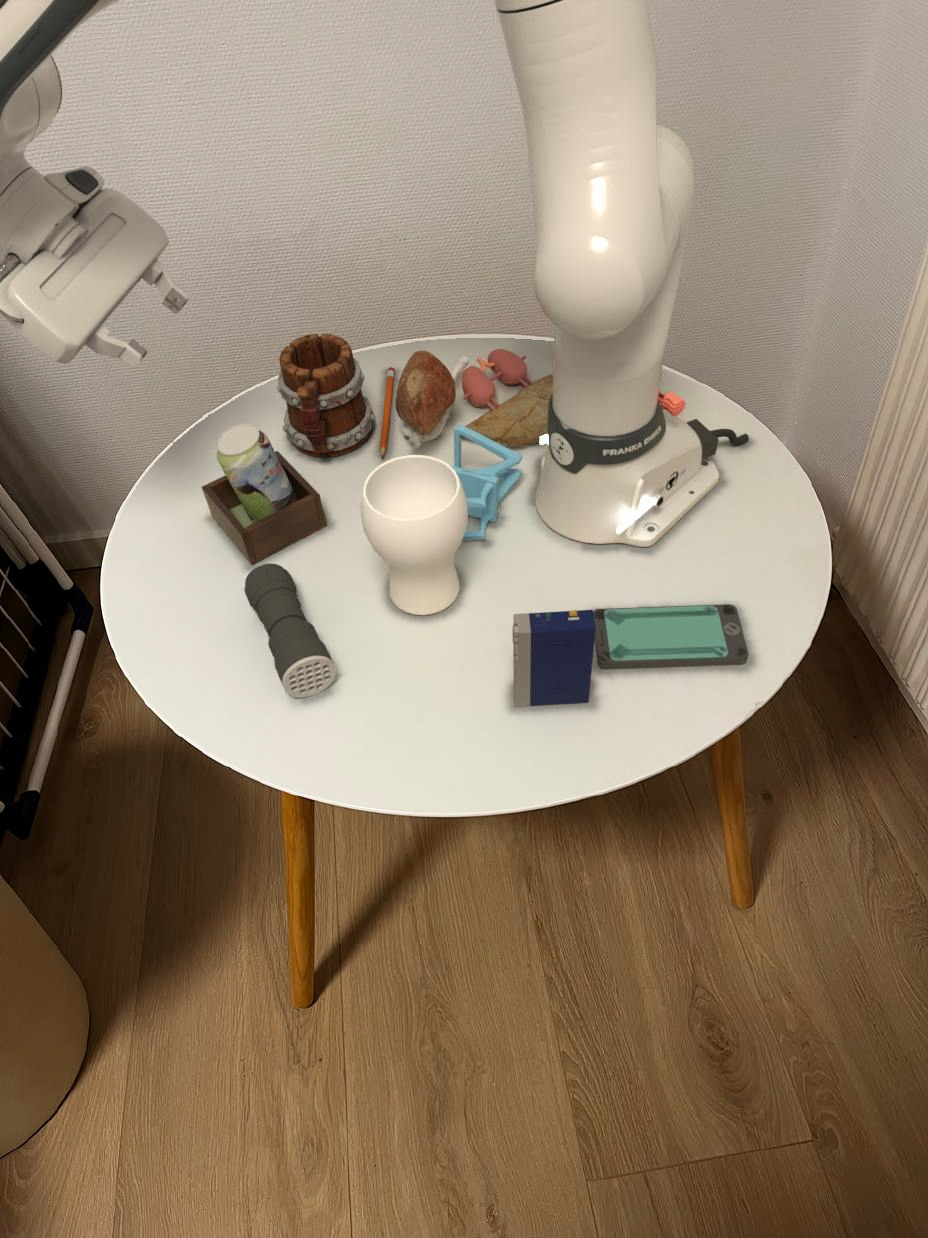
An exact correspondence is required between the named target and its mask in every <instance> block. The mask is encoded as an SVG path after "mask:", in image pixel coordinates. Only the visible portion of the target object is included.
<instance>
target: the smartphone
mask: <svg viewBox="0 0 928 1238" xmlns="http://www.w3.org/2000/svg"><path fill="white" fill-rule="evenodd" d="M593 614H594V621H595V627H596V631H595V641H594V647H595V652H596V661H597V666H598V667H599V668H601V669H602V670H617V669H618V670H619V669H621V670H622V669H647V668H649V669H652V668H679V667H683V668H684V667H708V666H710V667H713V666H737V665H738V666H740V665H741V666H742V665H744V664H746V663H747V661H748V658H749V655H750V654H749V650H748V646H747V643H746V638H745V634H744V631H743V627H742V624H741V621H740V620H741V619H740V616H739V612H738V608H737V607H736V605H734V604H732V603H731V604H730V603H729V604H727V603H726V604H724V603H723V604H700V605H698V604H697V605H671V606H642V607H641V606H640V607H614V608H613V607H612V608H611V607H610V608H609V607H607V608H596V609H594V610H593Z"/></svg>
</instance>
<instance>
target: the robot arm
mask: <svg viewBox="0 0 928 1238" xmlns="http://www.w3.org/2000/svg"><path fill="white" fill-rule="evenodd" d="M120 1H122V0H0V316H2V318H4V319H6V321H7V322H8V323H9V324H10V325H11V326H12V327H13V328H14V329H15V330H16V331H17V332H18V333H19V334H20V335H21V336H22V337H23V338H24V339H25V340H26V341H28V342H29V343H30V344H31V345H32V346H33V347H34V348H35V349H36V350H38V351H40V352H41V353H42V354H43V355H44V356H46V357H47V359H50V361H53V362H55V363H60V364H69V363H71V362H72V361H73V359H75V358H76V357H77V355H78V353H79V352H80V351H81V350H82V349H83V348H84V347H85V346H86V347H88V348H89V350H92V351H93V352H94V353H95V354H99V355H103V356H106V357H111V358H115V359H119V360H121V361H122V362H124V363H125V364H126V365H127V366H129V367H130V368H132V369H136V368H137V367H138V366H139V365H140V364H141V362H142V361H143V359H144V358H145V357H146V355H147V354H148V351H147V349H146V347H144V346H143V345H140V343H139V342H138V341H136V339H133V338H131V340H130V341H129V342H126V341H124V340H121V339H118V338H116V337H113V336H111V335H110V334H111V333H112V332H111V331H110V330H109V329H108V328H107V327H106V326H104V325H103V324H104V323H105V322H106V321H107V320H108V318H109V317H110V316H111V315H112V314H113V313H114V312H115V310H116V309H117V308H118V307H119V306H120V304H121V303H122V302H123V301H124V300H125V299H126V298H127V296H128V295H129V294H130V292H132V290H133V289H134V288H135V287H136V286H137V284H139V282H140V281H141V280H143V281H145V282H146V284H148V285H149V286H154V285H155V287H156V288H157V290H158V291H159V293H160V294H161V296H162V297H163V299H164V300H163V301H162V303H161V304H162V305H163V306H164V307H165V308H167V309H169V310H170V311H171V312H172V313H173V314H176V315H177V314H179V313H180V312H181V311H182V310H183V308H184V307H185V305H186V304H187V303H188V301H189V299H190V298H189V296H188V295H187V293H186V292H184V291H183V290H181V288H179V287H178V286H177V285H176V281H174V279H173V276H172V275H171V273H170V271H169V269H168V267H167V266H166V265H165V264H163V263H162V262H161V261H160V260H159V259H160V257H161V256H162V254H163V253H164V251H165V250H166V249H167V247H168V245H169V243H170V240H169V237H168V235H167V232H166V231H165V228H163V226H162V225H161V224H160V223H159V222H158V221H157V220H156V219H155V218H153V217H152V216H151V215H150V214H148V212H146V211H145V210H144V209H143V208H142V207H140V206H139V205H138V204H137V203H135V202H134V201H132V200H131V199H130V198H129V197H127V196H126V195H125V194H123V193H122V192H120V191H119V190H116V189H113V188H103V187H104V186H105V178H104V177H103V176H102V175H101V174H100V172H98V171H97V170H96V169H95V168H93V167H91V166H81V167H77V168H74V169H70V170H65V171H61V172H55V173H53V172H52V173H48V174H45V175H43V174H42V173H41V172H39V171H38V170H37V169H36V168H34V167H33V165H31V164H30V163H29V162H28V161H27V159H26V158H25V151H26V150H27V147H28V146H29V144H30V143H32V142H33V141H34V140H35V139H36V138H37V137H39V136H40V135H42V134H43V133H44V132H45V131H46V130H47V129H48V128H49V127H50V126H51V125H52V123H53V122H54V120H55V118H56V115H57V114H58V112H59V111H60V108H61V106H62V100H63V85H62V80H61V79H62V78H61V74H60V72H59V71H60V70H59V69H58V67H57V66H58V65H57V63H56V61H55V59H54V57H53V56H52V55H53V54H54V53H55V52H56V51H57V50H58V48H60V47H61V45H63V43H64V42H65V41H66V40H67V39H68V38H69V37H70V36H71V35H72V34H73V32H75V31H76V30H77V29H78V28H79V27H81V26H82V25H83V24H84V23H85V22H87V21H88V20H89V19H92V17H94V16H96V15H97V14H99V13H100V12H102V11H103V10H104V11H105V9H107V8H109V7H111V6H113V5H114V4H116V3H118V2H120ZM494 5H495V8H496V12H497V16H498V20H499V23H500V28H501V31H502V36H503V38H504V43H505V47H506V51H507V54H508V58H509V62H510V66H511V70H512V74H513V78H514V83H515V86H516V89H517V93H518V98H519V102H520V106H521V112H522V116H523V122H524V128H525V138H526V146H527V156H528V168H529V179H530V181H529V182H530V190H531V191H530V192H531V201H532V202H531V203H532V210H533V218H534V219H533V220H534V230H535V260H534V261H535V263H534V272H533V273H534V276H533V289H534V294H535V298H536V301H537V303H538V305H539V307H540V309H541V310H542V312H543V314H544V315H545V316H546V317H547V319H548V320H549V321H550V322H552V324H554V326H556V327H555V333H554V337H553V338H554V340H553V367H552V375H553V393H552V394H551V397H550V399H549V405H548V421H547V432H548V434H546V435H543V436H541V437H540V441H539V445H541V446H542V445H544V444H546V448H545V454H544V455H543V456H542V458H541V462H540V473H541V476H540V480H539V483H538V486H537V489H536V493H535V508H536V512H537V513H538V515H539V517H540V519H541V520H542V521H543V523H544V524H546V525H547V526H548V527H549V528H550V529H551V530H552V531H554V532H556V533H557V534H559V535H561V536H563V537H565V538H567V539H570V540H573V541H576V542H580V543H585V544H586V543H587V544H594V545H605V544H625V545H629V546H634V547H638V548H649V547H652V546H654V545H655V544H656V543H657V542H658V541H659V540H660V539H662V537H663V536H664V535H665V534H667V532H669V530H671V529H672V528H673V527H674V525H676V524H677V523H678V522H679V521H680V520H681V519H682V518H683V517H685V515H686V514H687V513H688V512H689V511H691V510H692V509H693V508H694V507H695V506H696V505H697V504H698V503H699V502H700V501H701V500H702V499H703V498H704V497H705V496H706V495H708V493H710V491H711V490H713V489H714V487H715V486H717V485H718V484H719V481H720V473H719V470H718V468H717V466H716V464H715V462H714V461H713V460H712V459H711V458H712V457H713V456H716V455H717V449H718V444H719V438H728V441H729V442H730V444H731V445H733V446H741V445H743V444H745V443H747V442H749V440H750V436H749V435H748V434H747V433H743V434H741V435H739V436H737V433H736V432H735V431H734V430H733V429H729V428H718V429H712V430H710V429H708V427H706V426H705V425H704V424H703V422H701V421H700V420H698V419H697V418H694V419H692V420H689V421H685V420H684V419H682V418H681V417H679V415H680V414H681V413H683V411H684V409H685V408H686V407H685V406H686V404H687V403H686V402H687V401H686V400H685V399H684V398H682V397H680V396H678V395H676V393H675V392H671V391H670V392H667V393H664V392H663V391H661V390H660V386H661V380H662V372H663V366H664V358H665V352H666V346H667V340H668V334H669V330H670V325H671V320H672V316H673V311H674V306H675V301H676V297H677V292H678V288H679V287H678V286H679V281H680V277H681V271H682V266H683V262H684V256H685V250H686V246H687V240H688V235H689V230H690V224H691V219H692V212H693V208H694V200H695V190H696V189H695V187H696V186H695V185H696V177H695V176H696V175H695V164H694V160H693V157H692V154H691V152H690V149H689V148H688V146H687V144H686V143H685V142H684V140H683V139H682V138H681V137H680V136H679V135H678V134H677V133H675V131H673V130H671V129H669V128H668V127H666V126H664V125H661V124H657V87H658V62H657V56H656V49H655V44H654V38H653V32H652V25H651V20H650V15H649V14H650V13H649V9H648V2H647V0H494Z"/></svg>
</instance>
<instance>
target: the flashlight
mask: <svg viewBox="0 0 928 1238" xmlns="http://www.w3.org/2000/svg"><path fill="white" fill-rule="evenodd" d="M244 582H245V583H244V585H245V586H244V593H245V596H246V599H247V601H248V603H249V606H250V607H251V608H252V610H254V611H255V613H256V614H257V616H258V618H259V621H260V623H262V625H263V626H264V629H265V631H266V634H267V635H268V641H267V642H268V648H269V650H270V652H271V655H272V657H273V660H274V668H275V671H276V673H277V676H278V678H279V680H280V683H281V685H282V687H283V690H284V692H285V693H287V694H288V695H289V696H291V697H294V698H306V697H311V696H314V695H317V694H319V693H321V692H323V691H324V690H326V689H327V688H329V686H330V685H331V684H332V683H333V681H334V680H335V678H336V675H337V668H336V665H335V662H334V661H333V658H332V657H331V655H330V653H329V650H328V648H327V647H326V646H327V645H325V643H324V642H323V640H321V639H320V637H319V635H318V632H317V630H316V628H315V626H314V625H313V624H312V623H311V622H309V621H308V620H307V618H306V616H305V613H304V612H303V610H302V604H301V602H300V600H299V597H298V595H297V593H298V592H297V585H296V583H295V581H294V579H293V577H292V574H290V572H289V571H288V570H287V569H285V568H284V567H283V566H282V565H280V564H278V563H264V564H260V565H259V566H256V567H255V568H253V569H252V570H250V572H249V573H248V574H247V576H246V577H245V581H244Z"/></svg>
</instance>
